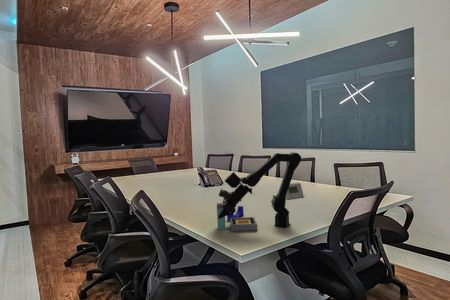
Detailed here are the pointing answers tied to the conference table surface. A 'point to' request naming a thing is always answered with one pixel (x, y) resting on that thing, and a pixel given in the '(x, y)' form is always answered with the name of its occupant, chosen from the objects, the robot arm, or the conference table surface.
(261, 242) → the conference table surface
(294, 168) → the robot arm
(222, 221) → the plug
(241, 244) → the conference table surface
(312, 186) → the conference table surface
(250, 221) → the socket box
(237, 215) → the cable clip
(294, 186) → the digital clock
